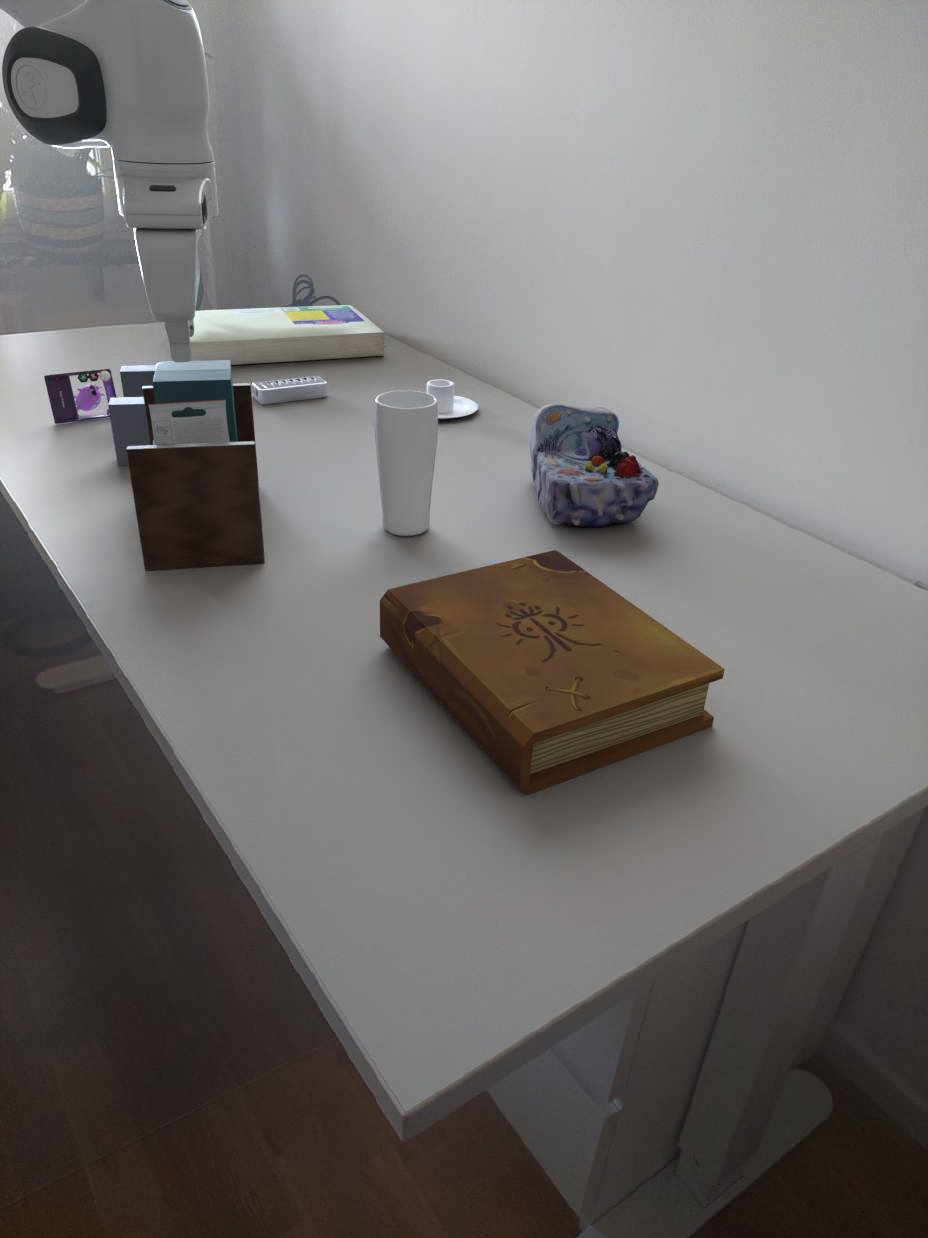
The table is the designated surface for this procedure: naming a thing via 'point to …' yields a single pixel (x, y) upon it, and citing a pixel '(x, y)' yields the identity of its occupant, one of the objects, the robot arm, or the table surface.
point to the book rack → (199, 496)
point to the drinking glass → (406, 458)
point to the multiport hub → (289, 389)
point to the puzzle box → (284, 334)
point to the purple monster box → (85, 400)
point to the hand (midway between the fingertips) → (184, 347)
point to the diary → (548, 666)
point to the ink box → (189, 423)
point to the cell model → (586, 468)
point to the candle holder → (450, 400)
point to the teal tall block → (196, 387)
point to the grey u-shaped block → (130, 410)
